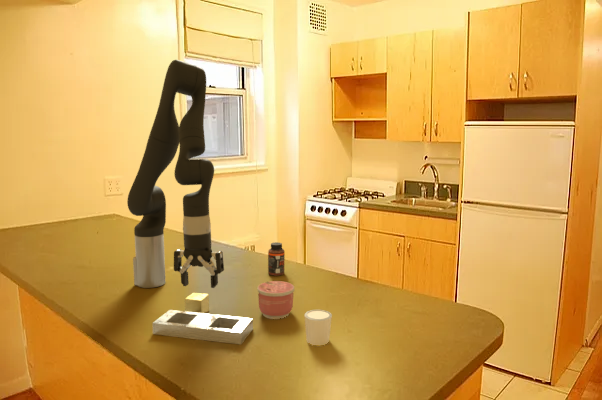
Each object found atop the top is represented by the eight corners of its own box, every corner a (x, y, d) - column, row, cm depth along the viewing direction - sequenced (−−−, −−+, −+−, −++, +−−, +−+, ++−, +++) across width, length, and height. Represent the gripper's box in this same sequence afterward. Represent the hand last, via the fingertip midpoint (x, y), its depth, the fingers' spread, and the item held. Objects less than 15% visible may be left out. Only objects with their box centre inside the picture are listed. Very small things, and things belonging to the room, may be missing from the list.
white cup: (303, 335, 119) (303, 309, 118) (329, 334, 120) (329, 308, 119) (305, 347, 112) (305, 320, 111) (333, 346, 113) (334, 319, 112)
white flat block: (152, 333, 119) (152, 322, 119) (170, 320, 128) (169, 309, 127) (240, 344, 114) (240, 332, 113) (252, 329, 122) (252, 318, 122)
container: (274, 303, 140) (274, 278, 139) (301, 312, 134) (301, 286, 132) (249, 314, 132) (249, 287, 131) (277, 324, 126) (277, 296, 124)
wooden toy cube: (185, 315, 131) (184, 298, 130) (193, 309, 136) (192, 292, 135) (201, 317, 130) (201, 300, 129) (209, 310, 135) (208, 294, 134)
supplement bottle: (282, 276, 165) (282, 246, 163) (266, 275, 166) (266, 245, 165) (286, 271, 171) (286, 242, 169) (270, 270, 172) (270, 241, 170)
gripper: (226, 228, 132) (227, 283, 134) (179, 227, 135) (182, 280, 137) (215, 234, 124) (218, 292, 127) (167, 232, 127) (170, 289, 130)
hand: (199, 286), depth 132 cm, fingers open, 8 cm apart
